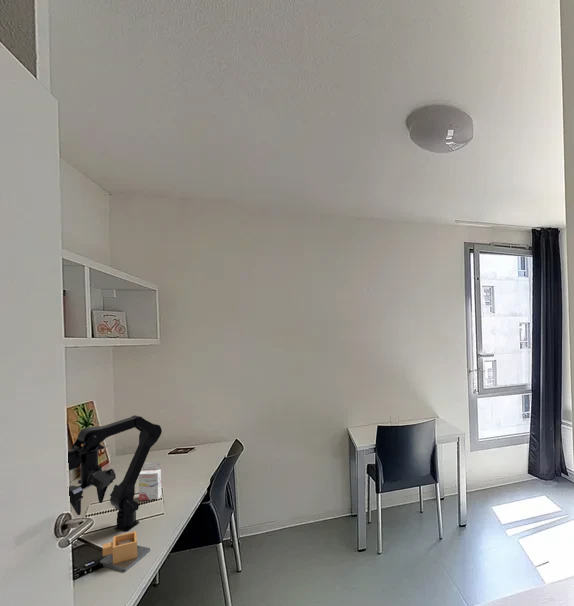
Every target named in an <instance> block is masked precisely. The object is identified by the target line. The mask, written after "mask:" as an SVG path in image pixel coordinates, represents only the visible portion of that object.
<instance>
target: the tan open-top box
mask: <svg viewBox="0 0 574 606" xmlns="http://www.w3.org/2000/svg"><path fill="white" fill-rule="evenodd" d="M137 537H138V536H137V531H136V530H135V531H132V532H131V531H130V532H127V533H122V534H118V535H115V536H113V540H112V541H111V542H108V543H103V544H102V557H106V556H108V555H110V554H113V564H115V563H119V562H123V561H126V560H130V559H134V558H137V545H138V538H137ZM130 539H132V542H130V543H126V544H122V545H118V542H122V541H126V540H130Z"/></svg>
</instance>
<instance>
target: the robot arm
mask: <svg viewBox="0 0 574 606" xmlns="http://www.w3.org/2000/svg"><path fill="white" fill-rule="evenodd" d="M134 428H135V429H136V430H138V431H139V435H138V445H137V447H136V450H135V452H134V455H133V457H132V459H131V461H130V463H129V466H128V469H127V471H126V473H125V474H124V478H123V480H122V481H121V482H120V483H119V484H115V485H114V486H113V489H112V492H111V493H110V494H109V496H110V498H109V502H110V505H112V506H113V507H114V508H115V510H118V511H117V517H116V525H115V526H114V529H115V530H117V531H118V530H119V531H124V532H128V531H129V530H131V529H133V527H136V526H137V525H138V524H140V521H139V520H137V514H136V513H137V512H136V511H138V510H139V507H140V503H139V502H137V501H135V500H134V498H135V494H136V493H135V492H136V491H135V490H136V489H135V487H136V486H135V485H136V484H137V480H139V474H140V472H141V471H142V470H143V464H144V463H146V459H147V457H148V455H149V453H150V451H151V448H153V446H154V445H155V444H156V443H157V442H158V440H159V439H160V437H161V435H162V433H163V430H162V427H161V426H160V425H159V424H156V423H152V422H151V421H148V420H146V419H145V418H144V417H142V416H139V415H136V414H135V415H132V416H130V417H127V418H124V419H121V420H119V421H118V420H117V421H115V422H112V423H109V424H105V425H101V426H100V425H99V426H98V425H97V426H89V427H84V428H82V429H81V430H80V431H79V432H78V435H77V438H76V439H75V441H74V443H73V444H72V446H71V447H70V450H67V451H68V463H69V471H70V472H71V471H72V470H76V469H77V472H79V473H80V479H78V481H77V484H79V486H76V485H70V486H68V487H69V496H70V502H69V503H70V505H71V507H72V509H74V512H75V513H76V515H77V516H80V515H81V512H82V499H83V498H84V495H83V493H84V491H85V490H86V489H89V488H90V487H95V488H96V494H97V499H98V503H99V504H103V501H104V497H105V496H106V492H107V490H108V487H109V486H110V485H111V484H112V483H113V482H114V480H115V479H116V478H117V477H116V472H115V470H114V468H110V469H107V470H106V469H104V470H103V469H102V465H100V464H99V451H100V450H103V449H105V446H104V445H102V444H101V443H103V441H105V440H107V438H109V437H112V436H114V435H117V434H120V433H123V432H126V431H129V430H131V429H134ZM82 445H83V446H82ZM69 471H68V472H69ZM116 480H117V479H116Z"/></svg>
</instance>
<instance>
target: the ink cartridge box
mask: <svg viewBox="0 0 574 606" xmlns="http://www.w3.org/2000/svg"><path fill="white" fill-rule="evenodd" d="M161 496H162V469H161V462H144V464H143V467H142V469H141V472H140V474H139V476H138V499H139V500H140V501H153V500H152V499H158V500H159V499H160V498H161Z"/></svg>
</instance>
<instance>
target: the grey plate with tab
mask: <svg viewBox="0 0 574 606" xmlns="http://www.w3.org/2000/svg"><path fill="white" fill-rule="evenodd" d="M130 542H132V539H130V540H126V541H122V542H118V545H122V544H126V543H130ZM150 552H151V548H150V547H146V546H142V545H138V544H137V558H134V559H130V560H126V561H123V562H119V563H115V564H113V554H110V555H106V556H104V557H103V558H102V559H101V560H99V561H100V562H101V563H102V564H103V567H107V568H110V569H113V570H114V569H115V570H118V571H122V572H125V573H126V572H127V571H128V570H129V569H130V568H132V567H133V566H134V565H136V564H137V563H138V562H139V561H141V559H143V558H144V557H145V556H146V555H148V554H149V553H150ZM147 553H148V554H147Z"/></svg>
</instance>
